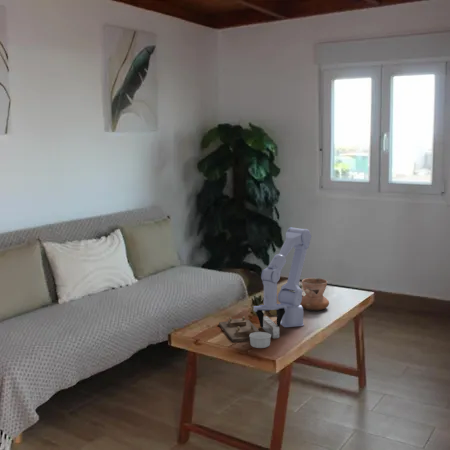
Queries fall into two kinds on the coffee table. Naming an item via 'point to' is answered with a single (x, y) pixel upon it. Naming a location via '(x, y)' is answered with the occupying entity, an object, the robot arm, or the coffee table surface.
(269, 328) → the steel bar
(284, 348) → the coffee table surface
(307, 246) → the robot arm
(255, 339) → the ramekin
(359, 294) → the coffee table surface
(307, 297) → the clay incense burner
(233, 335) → the board
